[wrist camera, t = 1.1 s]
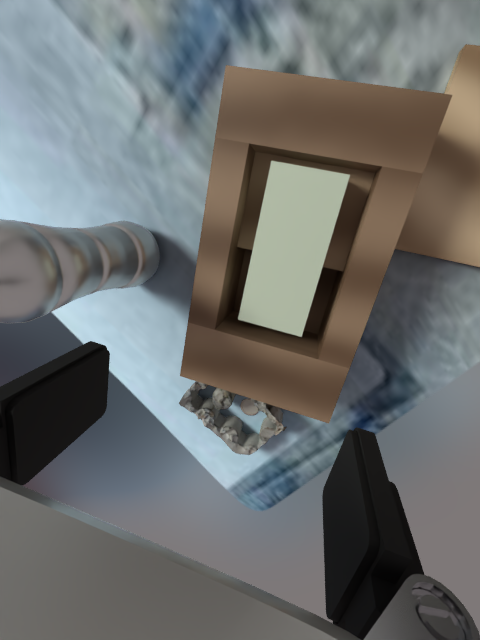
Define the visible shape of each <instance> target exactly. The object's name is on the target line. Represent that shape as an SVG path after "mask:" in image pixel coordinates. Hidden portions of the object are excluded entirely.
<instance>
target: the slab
mask: <svg viewBox="0 0 480 640" xmlns="http://www.w3.org/2000/svg"><path fill="white" fill-rule="evenodd" d="M349 177H350V175H348V174H343V173H337V172H332V171H326V170H321V169H315V168H310V167H304V166H299V165H293V164H287V163H282V162H276V161H271V165H270V170H269V175H268V179H267V184H266V189H265V194H264V198H263V203H262V208H261V213H260V217H259V222H258V227H257V231H256V236H255V241H254V246H253V250H252V255H251V260H250V265H249V269H248V274H247V279H246V284H245V288H244V293H243V298H242V303H241V307H240V312H239V317H238V320H242V321H245V322H249V323H253V324H256V325H260V326H263V327H267V328H271V329H274V330H278V331H282V332H285V333H289V334H292V335H296V336H300V337H302V334H303V331H304V327H305V324H306V321H307V317H308V314H309V311H310V307H311V304H312V301H313V297H314V294H315V291H316V287H317V284H318V281H319V277H320V274H321V270H322V267H323V264H324V260H325V257H326V254H327V250H328V247H329V244H330V240H331V237H332V234H333V230H334V227H335V224H336V220H337V217H338V214H339V210H340V207H341V204H342V200H343V197H344V194H345V190H346V187H347V184H348V180H349Z"/></svg>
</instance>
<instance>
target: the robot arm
mask: <svg viewBox="0 0 480 640" xmlns="http://www.w3.org/2000/svg"><path fill="white" fill-rule="evenodd" d="M109 357H110V353H109V351H108V350H107V348H106V346H105V345H101V344H98V343H95V342H92V341H90V342H88V343H86V344H84V345H82V346H80V347H78V348H76V349H74V350H72V351H70V352H68V353H66V354H64V355H62V356H60V357H58V358H56V359H54V360H52V361H50V362H48V363H47V364H44V365H42V366H40V367H38V368H37V369H34V370H33V371H31V372H28V373H27V374H25V375H23V376H21V377H19V378H17V379H15V380H13V381H11V382H9V383H7V384H5V385H3V386H1V387H0V640H480V635H479V631H478V629H477V627H476V625H475V623H474V621H473V619H472V617H471V616H470V614H469V612H468V611H467V610H466V608H465V607H464V605H463V604H462V603H461V602H460V600H459V599H458V598H457V597H456V596H455V595H454V594H453V593H452V592H451V591H450V590H449V589H447V588H446V587H445V586H444V585H443V584H441V583H440V582H438V581H436V580H435V579H433V578H431V577H429V576H426V575H424V572H423V569H422V566H421V563H420V560H419V556H418V553H417V550H416V547H415V544H414V540H413V537H412V534H411V531H410V528H409V525H408V522H407V518H406V516H405V512H404V509H403V506H402V503H401V500H400V497H399V493H398V490H397V488H396V486H395V484H394V483H392V482H390V481H389V480H388V477H387V474H386V470H385V467H384V463H383V460H382V457H381V453H380V450H379V446H378V443H377V439H376V436H375V434H374V433H372V432H369V431H366V430H363V429H360V428H355V429H354V431H352V430H349V431H348V432H347V434H346V437H345V439H344V441H343V444H342V446H341V448H340V451H339V453H338V456H337V458H336V460H335V463H334V465H333V467H332V470H331V472H330V474H329V477H328V479H327V481H326V484H325V486H324V490H323V529H324V562H325V591H326V592H325V593H326V614H327V617H328V618H329V619H331V620H333V624H332V623H330V622H329V621H327V620H325V619H323V618H321V617H319V616H317V615H315V614H313V613H311V612H309V611H307V610H304V609H302V608H300V607H298V606H296V605H294V604H291V603H289V602H287V601H285V600H283V599H280V598H278V597H276V596H274V595H272V594H270V593H267V592H265V591H263V590H261V589H259V588H257V587H255V586H252V585H250V584H248V583H245V582H243V581H241V580H239V579H236V578H234V577H232V576H229V575H227V574H225V573H223V572H220V571H218V570H216V569H214V568H211V567H209V566H207V565H204V564H202V563H200V562H198V561H195V560H193V559H191V558H189V557H186V556H184V555H182V554H179V553H177V552H175V551H173V550H170V549H168V548H166V547H163V546H161V545H159V544H157V543H154V542H152V541H150V540H147V539H145V538H142V537H140V536H138V535H136V534H133V533H131V532H129V531H127V530H124V529H122V528H119V527H117V526H115V525H112V524H110V523H108V522H105V521H103V520H101V519H99V518H96V517H94V516H92V515H89V514H87V513H84V512H82V511H80V510H78V509H75V508H73V507H71V506H68V505H66V504H64V503H61V502H59V501H57V500H54V499H52V498H49V497H47V496H45V495H42V494H40V493H38V492H35V491H33V490H31V489H28V488H26V487H24V486H21V485H24V484H26V483H27V482H29V481H30V480H31V479H32V478H33V477H34V476H35V475H36V474H38V473H39V472H40V471H41V470H42V469H43V468H44V467H45V466H46V465H48V464H49V463H50V462H51V461H52V460H53V459H54V458H56V457H57V456H58V455H59V454H60V453H61V452H62V451H63V450H65V449H66V448H67V447H68V446H69V445H70V444H71V443H72V442H74V441H75V440H76V439H77V438H78V437H79V436H80V435H81V434H83V433H84V432H85V431H86V430H87V429H88V428H89V427H90V426H92V425H93V424H94V423H95V422H96V421H97V420H98V419H99V418H101V417H102V415H103V414H104V413H105V411H106V407H107V391H108V374H109Z"/></svg>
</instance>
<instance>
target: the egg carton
mask: <svg viewBox="0 0 480 640" xmlns="http://www.w3.org/2000/svg"><path fill="white" fill-rule="evenodd" d="M207 386H208V385H207V384H204V383H201V382H198V381H196V382H195V383H194V384H193V385H192V386H191V388H190V389H188V390H187V391H186V393H185V394H184V396H183V397H182V399H181V401H180V402H179V404H180V405H181V406H183V407H185V408H186V409H188V410H189V411H190V412H193V413H195V414H196V415H197V416H198V419H201V420H202V421H203V424H204V426H205V427H207V428H209V429H211V430H212V431H213V432H214V433H215V434H216V435H217V436H219V437H220V438H221V439H222V440H223V441H224V442H225V443H226V444H227V445H228V446H229V448H230V449H231V450H232V451H234V452H235V453H238V454H246V455H250V454H252V453H254V452H255V451H257V450H258V449H259V448H260V447H261V446H262V445H263V444H265V443H266V442H267V441H268V440H269V438H270V437H272V436H273V435H274V434H275V436H276V435H278V434H279V433H280V432H281V431H282V430H283V431H284V430H285V429H286V427H283V425H282V419H283V413H282V411H281V409H280V408H279V407H276V406H273V405H270V404H267V403H264V402H260V401H257V400H254V399H250V398H247V399H244V400H242V402H241V409H242V411H243V412H244V413H245V414H247V415H255V414H257V413H258V411H262V412H265V414H266V415H267V417H266V418H265V419H264V420H263V422H262V426H261V429H260V433H259V434H257V433H250V434H248V435H247V434H245V433H244V432H243V431H242V430H241V429H242V421H241V420H240V419H239V418H238V417H236V416H227V417H224V416H223V415H222V414H221V413H220V412H219V411H220V409H227V408H229V407H230V406H231V404H232V402H233V399H234V397H235V395H236V394H235V393H232V392H229V391H226V390H223V389H220V388H216V389H215V391H214V393H213V398H206V399H202V398H201V397H200V396H199V395H198V393H199V390H200V389H205V388H206V387H207Z"/></svg>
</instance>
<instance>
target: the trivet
mask: <svg viewBox="0 0 480 640" xmlns="http://www.w3.org/2000/svg"><path fill="white" fill-rule="evenodd" d="M444 94H449V95H452V98H451V101H450V103H449V106H448V109H447V111H446V114H445V117H444V119H443V122H442V124H441V127H440V130H439V132H438V135H437V138H436V140H435V143H434V146H433V148H432V151H431V154H430V156H429V159H428V162H427V164H426V167H425V170H424V172H423V175H422V178H421V180H420V183H419V185H418V188H417V191H416V193H415V196H414V199H413V201H412V204H411V207H410V209H409V212H408V215H407V217H406V220H405V223H404V225H403V228H402V231H401V233H400V236H399V239H398V241H397V244H396V246H395V249H398V250H403V251H407V252H412V253H417V254H421V255H426V256H431V257H435V258H440V259H445V260H449V261H454V262H458V263H463V264H468V265H472V266H477V267H480V46H476V45H467V44H466V45H465V46H464V47H463V48H462V50H461V51H460V52H459V54H458V57H457V60H456V62H455V65H454V68H453V71H452V73H451V76H450V79H449V82H448V84H447V87H446V90H445V92H444Z"/></svg>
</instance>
